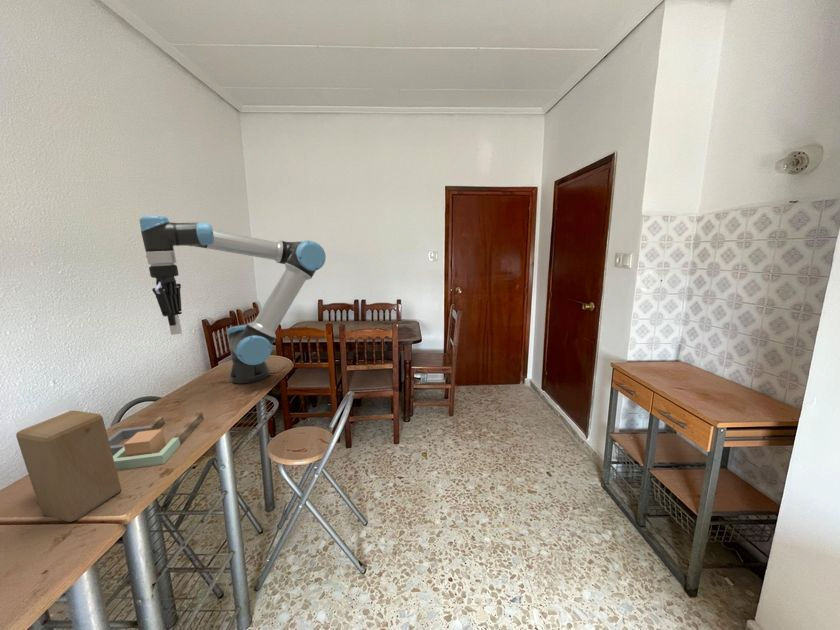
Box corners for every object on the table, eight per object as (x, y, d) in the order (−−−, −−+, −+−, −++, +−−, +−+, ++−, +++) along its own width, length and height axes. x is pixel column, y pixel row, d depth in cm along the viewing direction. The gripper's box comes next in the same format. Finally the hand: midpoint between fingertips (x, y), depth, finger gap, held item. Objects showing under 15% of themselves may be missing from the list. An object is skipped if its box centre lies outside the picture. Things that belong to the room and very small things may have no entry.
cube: (142, 451, 95) (138, 431, 93) (166, 448, 96) (162, 429, 94) (128, 464, 89) (123, 444, 88) (154, 461, 90) (149, 441, 89)
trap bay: (121, 436, 102) (120, 429, 102) (149, 433, 104) (147, 425, 103) (94, 458, 92) (92, 450, 91) (125, 454, 93) (123, 446, 93)
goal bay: (129, 451, 95) (127, 443, 94) (180, 445, 97) (178, 437, 96) (107, 471, 86) (105, 462, 86) (164, 463, 89) (162, 455, 88)
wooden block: (124, 490, 79) (103, 412, 75) (71, 525, 70) (44, 437, 65) (94, 484, 82) (72, 408, 78) (39, 516, 72) (11, 431, 68)
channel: (159, 424, 109) (158, 417, 108) (203, 418, 111) (202, 412, 111) (129, 451, 95) (127, 443, 94) (180, 445, 97) (178, 437, 96)
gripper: (161, 264, 117) (174, 330, 122) (137, 266, 105) (153, 340, 110) (185, 263, 118) (197, 328, 123) (164, 265, 106) (178, 338, 111)
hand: (176, 333), depth 116 cm, fingers closed
